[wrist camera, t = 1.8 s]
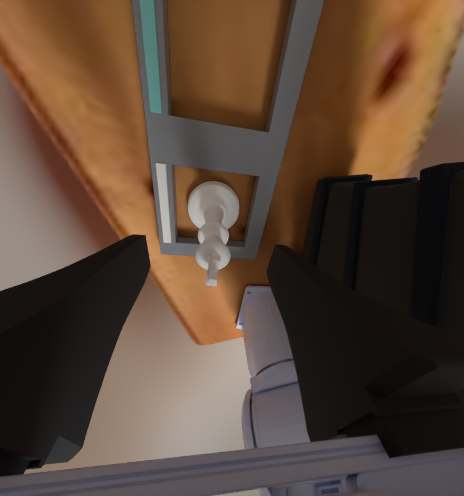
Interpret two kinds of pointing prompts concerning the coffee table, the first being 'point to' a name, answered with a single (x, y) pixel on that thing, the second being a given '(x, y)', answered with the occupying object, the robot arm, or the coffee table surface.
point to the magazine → (395, 241)
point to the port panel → (217, 125)
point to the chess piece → (213, 225)
